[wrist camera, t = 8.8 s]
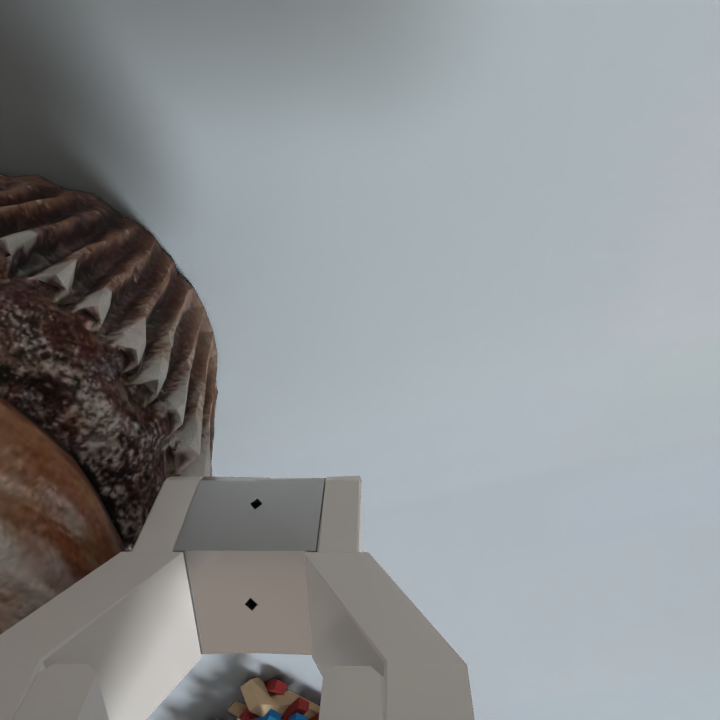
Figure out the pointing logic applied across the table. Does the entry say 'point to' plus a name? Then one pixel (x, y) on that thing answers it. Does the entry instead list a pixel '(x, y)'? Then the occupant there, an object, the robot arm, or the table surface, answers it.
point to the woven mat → (272, 703)
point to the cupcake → (89, 387)
